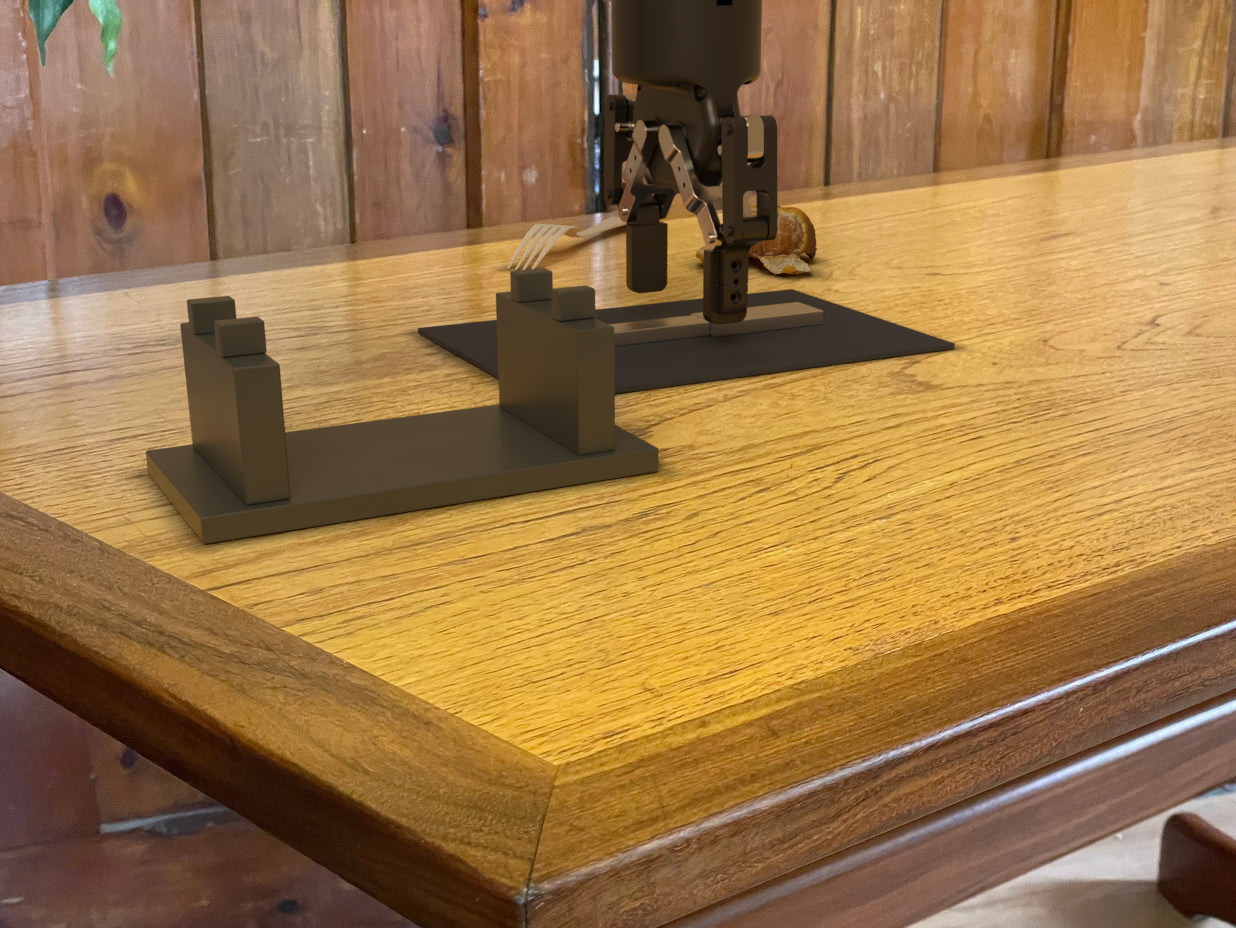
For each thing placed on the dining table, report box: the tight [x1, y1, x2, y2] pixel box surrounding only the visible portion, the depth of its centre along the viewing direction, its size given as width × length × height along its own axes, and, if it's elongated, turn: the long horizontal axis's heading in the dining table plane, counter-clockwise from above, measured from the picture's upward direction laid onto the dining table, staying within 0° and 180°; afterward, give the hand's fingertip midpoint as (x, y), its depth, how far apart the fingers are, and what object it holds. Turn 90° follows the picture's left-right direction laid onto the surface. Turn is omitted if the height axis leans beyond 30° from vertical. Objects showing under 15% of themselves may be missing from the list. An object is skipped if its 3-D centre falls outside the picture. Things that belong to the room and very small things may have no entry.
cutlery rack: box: [145, 267, 659, 545], centre depth 63 cm, size 18×9×7 cm, turn 120°
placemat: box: [417, 288, 956, 395], centre depth 86 cm, size 24×16×1 cm, turn 120°
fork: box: [506, 215, 627, 271], centre depth 113 cm, size 3×21×3 cm, turn 162°
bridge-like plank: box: [608, 302, 823, 347], centre depth 86 cm, size 18×3×1 cm, turn 120°
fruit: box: [695, 205, 818, 275], centre depth 107 cm, size 8×8×4 cm
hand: (684, 306), depth 85 cm, fingers open, 8 cm apart
